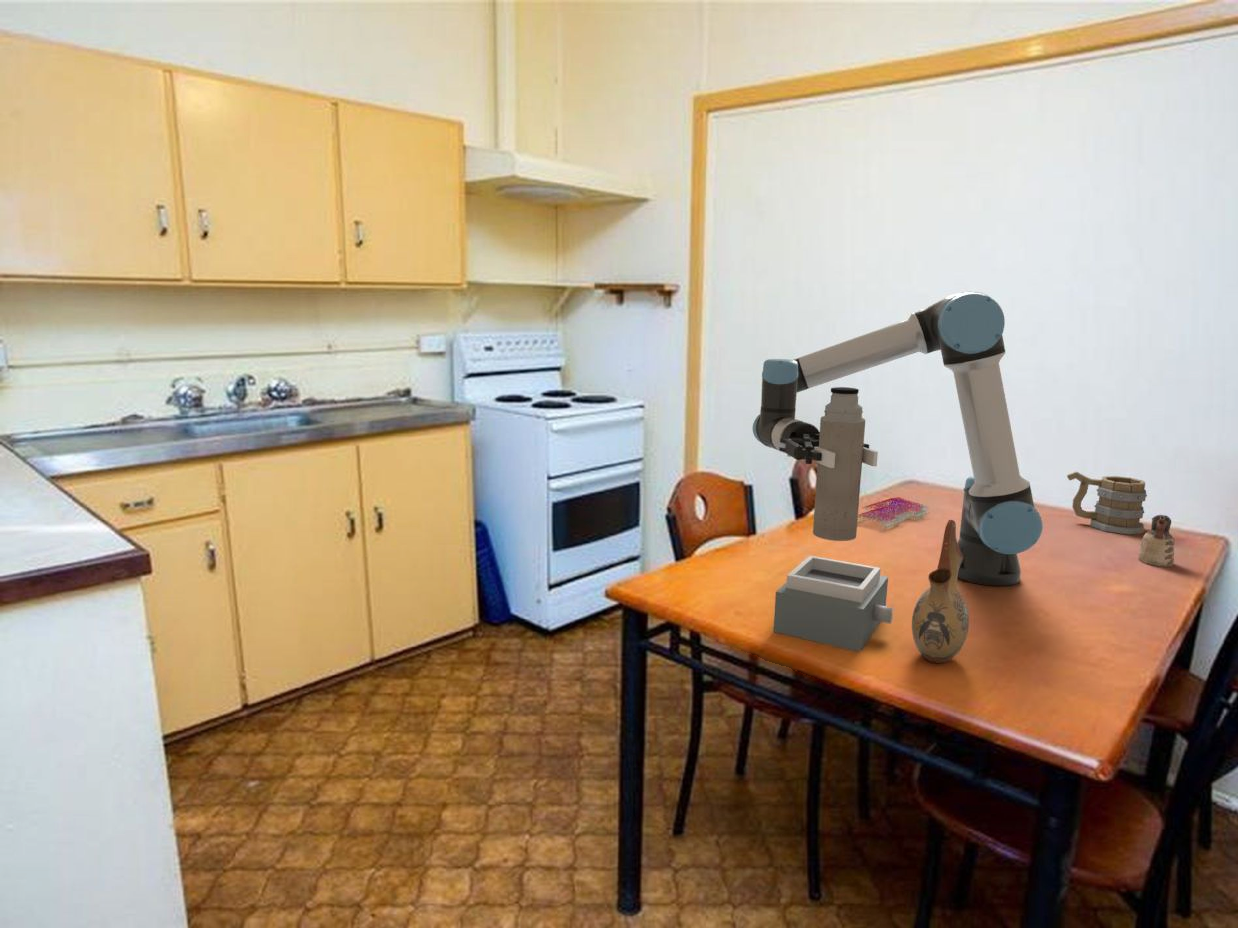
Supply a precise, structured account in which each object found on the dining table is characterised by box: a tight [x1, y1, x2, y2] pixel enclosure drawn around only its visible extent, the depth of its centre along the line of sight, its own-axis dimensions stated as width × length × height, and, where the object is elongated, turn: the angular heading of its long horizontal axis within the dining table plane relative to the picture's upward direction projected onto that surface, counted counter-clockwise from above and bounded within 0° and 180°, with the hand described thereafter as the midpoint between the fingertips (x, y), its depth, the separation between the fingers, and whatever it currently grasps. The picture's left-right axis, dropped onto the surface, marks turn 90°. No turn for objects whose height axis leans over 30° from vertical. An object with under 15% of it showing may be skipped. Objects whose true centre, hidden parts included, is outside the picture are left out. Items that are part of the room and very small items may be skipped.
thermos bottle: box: [812, 386, 866, 542], centre depth 145 cm, size 8×8×28 cm
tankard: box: [1066, 471, 1148, 536], centre depth 220 cm, size 20×13×15 cm, turn 58°
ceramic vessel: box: [911, 519, 970, 664], centre depth 134 cm, size 16×9×25 cm, turn 148°
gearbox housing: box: [773, 555, 894, 653], centre depth 149 cm, size 19×20×10 cm
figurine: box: [1138, 514, 1175, 568], centre depth 189 cm, size 7×7×12 cm
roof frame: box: [857, 497, 931, 531], centre depth 227 cm, size 30×15×5 cm, turn 132°
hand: (854, 459), depth 140 cm, fingers closed on thermos bottle, 8 cm apart
